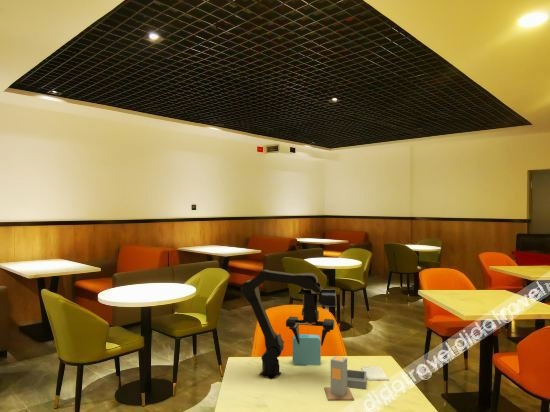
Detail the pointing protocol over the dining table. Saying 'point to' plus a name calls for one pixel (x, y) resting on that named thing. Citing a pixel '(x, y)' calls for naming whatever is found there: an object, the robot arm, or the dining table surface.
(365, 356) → the dining table surface
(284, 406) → the dining table surface
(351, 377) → the parts bin
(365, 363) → the dining table surface
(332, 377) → the labelled box
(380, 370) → the hard drive
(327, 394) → the walnut pad
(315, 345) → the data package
